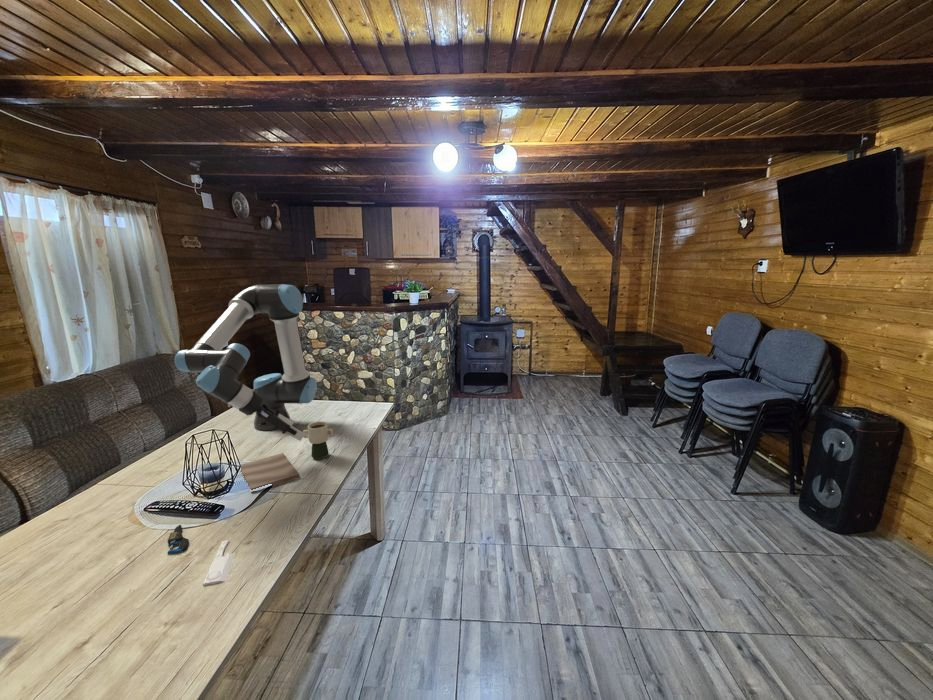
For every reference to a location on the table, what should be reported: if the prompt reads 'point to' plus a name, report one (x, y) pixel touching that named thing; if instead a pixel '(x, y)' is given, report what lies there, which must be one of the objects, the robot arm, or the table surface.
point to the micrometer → (177, 541)
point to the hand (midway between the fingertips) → (296, 431)
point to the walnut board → (268, 471)
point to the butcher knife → (219, 566)
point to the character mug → (318, 438)
